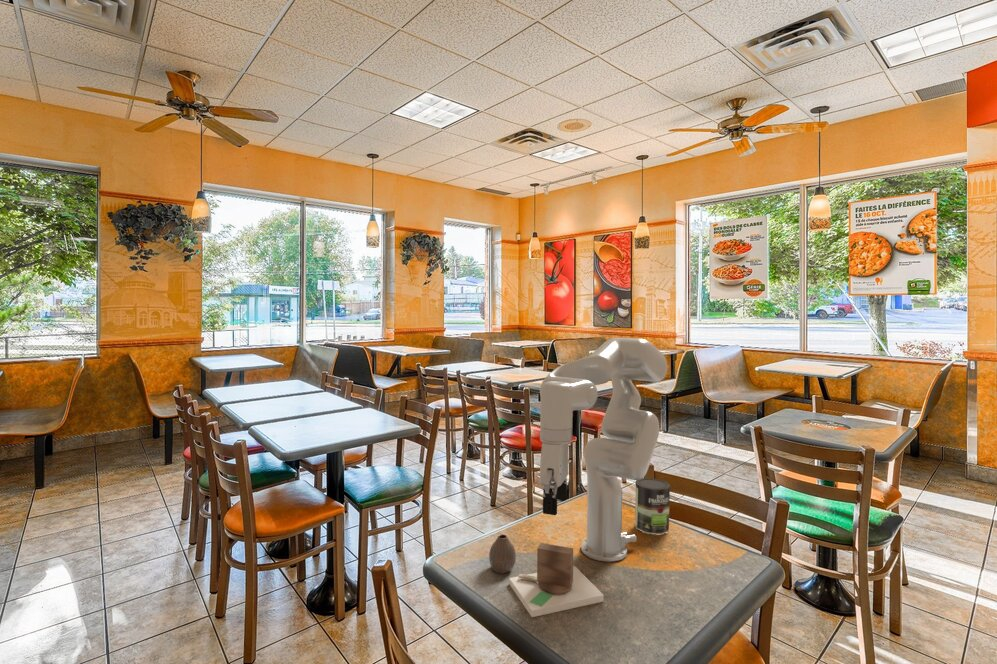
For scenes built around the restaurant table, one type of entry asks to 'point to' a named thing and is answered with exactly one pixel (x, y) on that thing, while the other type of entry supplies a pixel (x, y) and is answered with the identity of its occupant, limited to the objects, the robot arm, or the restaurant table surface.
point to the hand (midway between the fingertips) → (555, 506)
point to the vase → (502, 555)
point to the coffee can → (652, 506)
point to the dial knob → (553, 569)
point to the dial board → (555, 595)
